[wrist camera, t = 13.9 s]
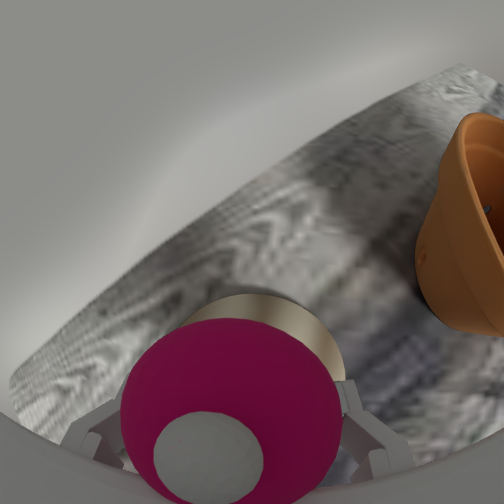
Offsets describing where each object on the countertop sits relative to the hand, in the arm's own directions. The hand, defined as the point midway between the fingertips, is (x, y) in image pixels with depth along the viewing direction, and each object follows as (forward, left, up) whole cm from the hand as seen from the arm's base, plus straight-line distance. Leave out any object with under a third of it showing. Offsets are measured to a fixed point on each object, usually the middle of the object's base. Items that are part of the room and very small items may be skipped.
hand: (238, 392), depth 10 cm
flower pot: (-24, -9, -14) cm, 29 cm away
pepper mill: (0, +1, -13) cm, 13 cm away
